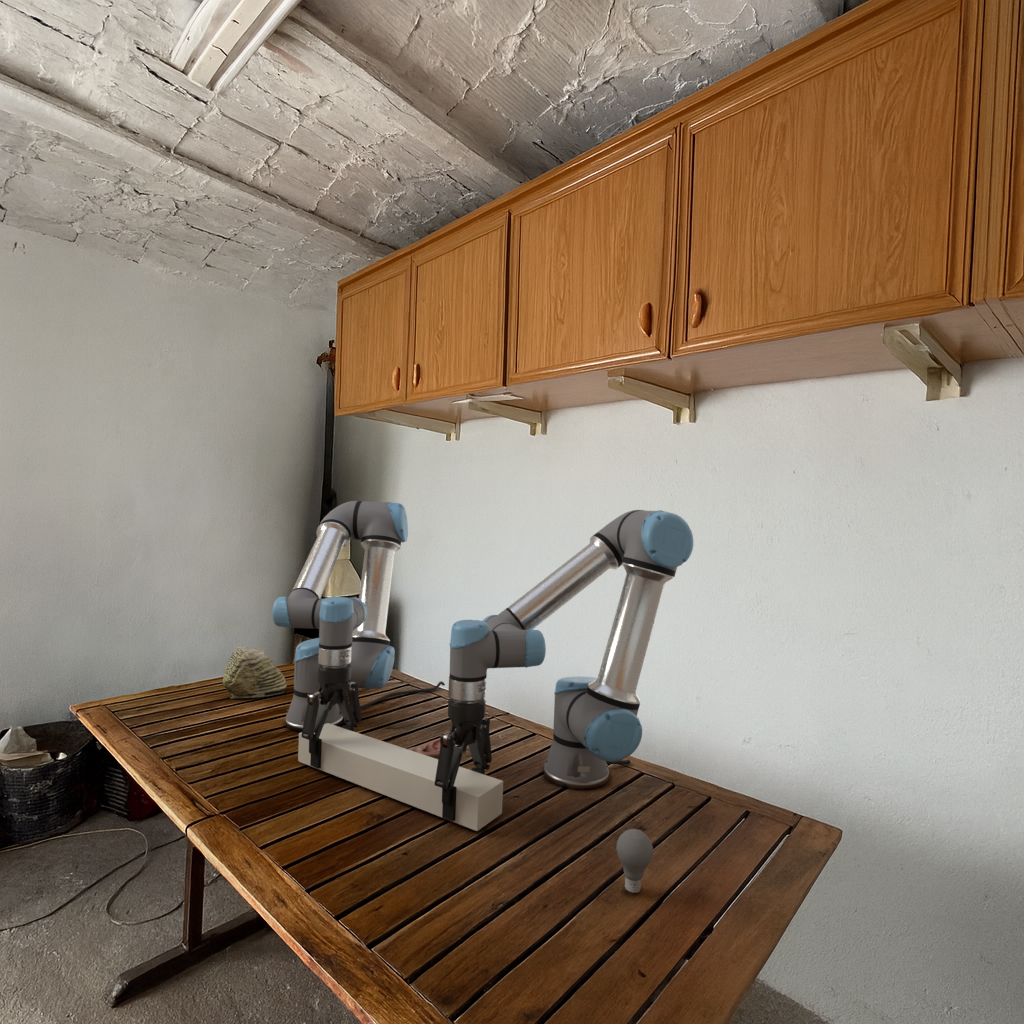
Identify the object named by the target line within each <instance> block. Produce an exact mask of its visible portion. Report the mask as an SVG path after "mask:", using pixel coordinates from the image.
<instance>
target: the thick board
mask: <svg viewBox="0 0 1024 1024" xmlns="http://www.w3.org/2000/svg"><path fill="white" fill-rule="evenodd" d="M314 734H315V733H314ZM301 735H302V732H301V731H300V732H299V733H298V749H297V754H298V755H297V762H299V763H301V764H303V765H307V766H308V767H312V768H314V769H317V770H319V771H322V772H325V773H326V774H329V775H332V776H335V777H337V778H340V779H343V780H345V781H347V782H350V783H352V784H355V785H358V786H359V787H360V786H361V787H362V788H366V789H368V790H370V791H374V792H375V793H378V794H381V795H384V796H387V797H388V798H391V799H394V800H396V801H399V802H401V803H404V804H406V805H409V806H412V807H414V808H416V809H419V810H422V811H424V812H427V813H430V814H432V815H435V816H437V817H440V818H442V819H444V820H447V821H449V820H448V819H445V818H443V817H442V807H443V803H442V788H441V787H438V786H435V777H436V771H437V765H438V759H435V758H432V757H429V756H426V755H423V754H420V753H417V752H414V751H411V750H408V749H409V748H404V747H402V746H399V745H396V744H393V743H390V742H386V741H383V740H380V739H378V738H374V737H371V736H368V735H365V734H363V733H359V732H356V731H354V732H353V731H350V730H347V729H344V728H343V727H341V726H335V725H332V724H329V723H327V724H324V726H323V728H322V731H321V734H320V737H319V738H320V739H322V749H321V768H319V769H318V768H315V767H313V766H310V760H311V753H309V740H308V739H305V738H302V736H301ZM454 786H455V787H457V788H456V816H455V821H451V822H452V823H455V824H458V825H460V826H462V827H465V828H468V829H471V830H472V831H475V832H478V831H480V830H481V829H482V828H485V826H487V825H488V824H489V823H491V822H493V821H494V820H496V819H497V818H498V817H500V815H502V814H503V801H504V800H503V797H504V780H502V779H499V778H495V777H493V776H490V775H486V774H485V775H484V774H481V773H478V772H475V771H472V769H468V768H465V767H463V766H460V765H459V769H458V772H457V776H456V779H455V783H454Z"/></svg>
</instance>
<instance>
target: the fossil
mask: <svg viewBox="0 0 1024 1024" xmlns="http://www.w3.org/2000/svg"><path fill="white" fill-rule="evenodd" d="M222 676H223V677H222V685H223V687H224V688H225V690H226V691H228V693H229V698H230V699H250V698H264V697H271V696H275V695H281V694H284V693H285V691H286V689H287V687H288V686H287V680H286V678H285V676H284V674H283V673H282V672H281V669H279V668H278V667H277V665H276V663H275V662H274V660H273V659H272V658H271V657H270V656H269V655H268V654H267V653H266V652H265V650H264V649H263V648H260V647H258V648H251V647H247V646H246V647H245V646H238V647H237V648H236V649H235V650H233V651H232V653H231V656H230V657H229V659H228V660H227V663H226V666H225V668H224V671H223V675H222Z"/></svg>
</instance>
